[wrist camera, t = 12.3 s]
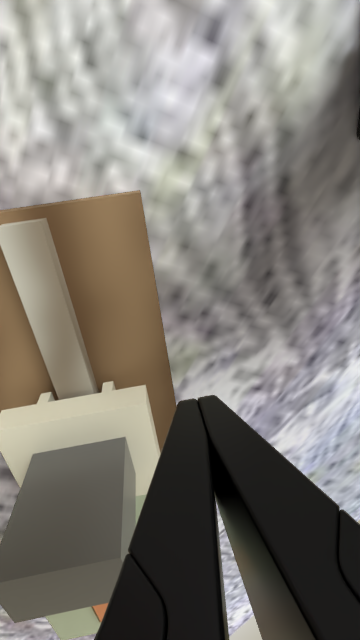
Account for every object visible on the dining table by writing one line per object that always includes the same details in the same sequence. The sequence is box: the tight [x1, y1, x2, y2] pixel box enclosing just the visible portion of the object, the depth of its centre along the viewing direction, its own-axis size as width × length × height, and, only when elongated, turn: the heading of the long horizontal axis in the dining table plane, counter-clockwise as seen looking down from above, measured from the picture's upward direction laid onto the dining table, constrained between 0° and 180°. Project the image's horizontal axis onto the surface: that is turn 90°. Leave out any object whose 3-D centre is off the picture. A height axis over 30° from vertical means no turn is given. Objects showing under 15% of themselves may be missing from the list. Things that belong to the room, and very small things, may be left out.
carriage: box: [0, 381, 160, 623], centre depth 16 cm, size 8×7×8 cm
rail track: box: [0, 190, 176, 454], centre depth 21 cm, size 11×26×2 cm, turn 8°
